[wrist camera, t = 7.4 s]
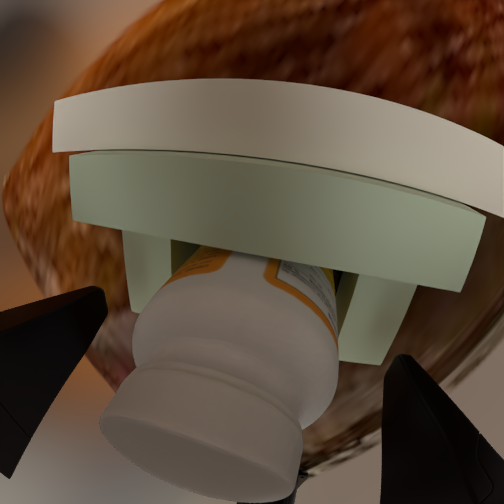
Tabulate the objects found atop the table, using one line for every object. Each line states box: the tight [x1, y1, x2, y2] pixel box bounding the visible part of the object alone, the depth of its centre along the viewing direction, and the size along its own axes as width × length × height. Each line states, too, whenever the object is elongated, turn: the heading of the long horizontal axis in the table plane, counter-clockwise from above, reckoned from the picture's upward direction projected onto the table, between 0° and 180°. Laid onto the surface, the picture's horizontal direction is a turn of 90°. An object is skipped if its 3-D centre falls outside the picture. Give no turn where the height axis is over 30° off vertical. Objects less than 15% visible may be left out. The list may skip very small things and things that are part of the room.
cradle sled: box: [69, 149, 486, 365], centre depth 9 cm, size 7×11×6 cm, turn 84°
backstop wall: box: [53, 79, 504, 218], centre depth 8 cm, size 2×16×4 cm, turn 84°
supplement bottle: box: [99, 245, 339, 503], centre depth 8 cm, size 5×5×10 cm
